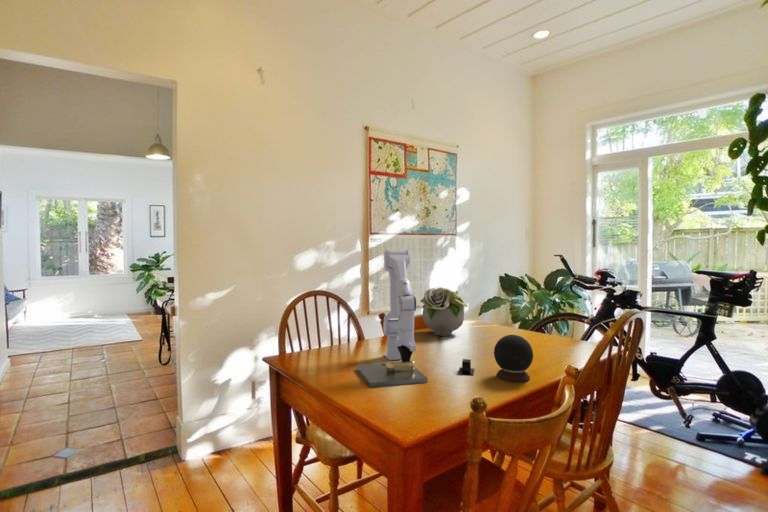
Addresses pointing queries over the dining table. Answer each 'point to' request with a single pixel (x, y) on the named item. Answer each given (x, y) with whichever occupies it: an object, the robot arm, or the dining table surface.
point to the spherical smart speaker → (513, 358)
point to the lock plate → (389, 375)
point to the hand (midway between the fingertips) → (405, 366)
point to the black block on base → (466, 368)
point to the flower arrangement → (443, 310)
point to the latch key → (400, 365)
